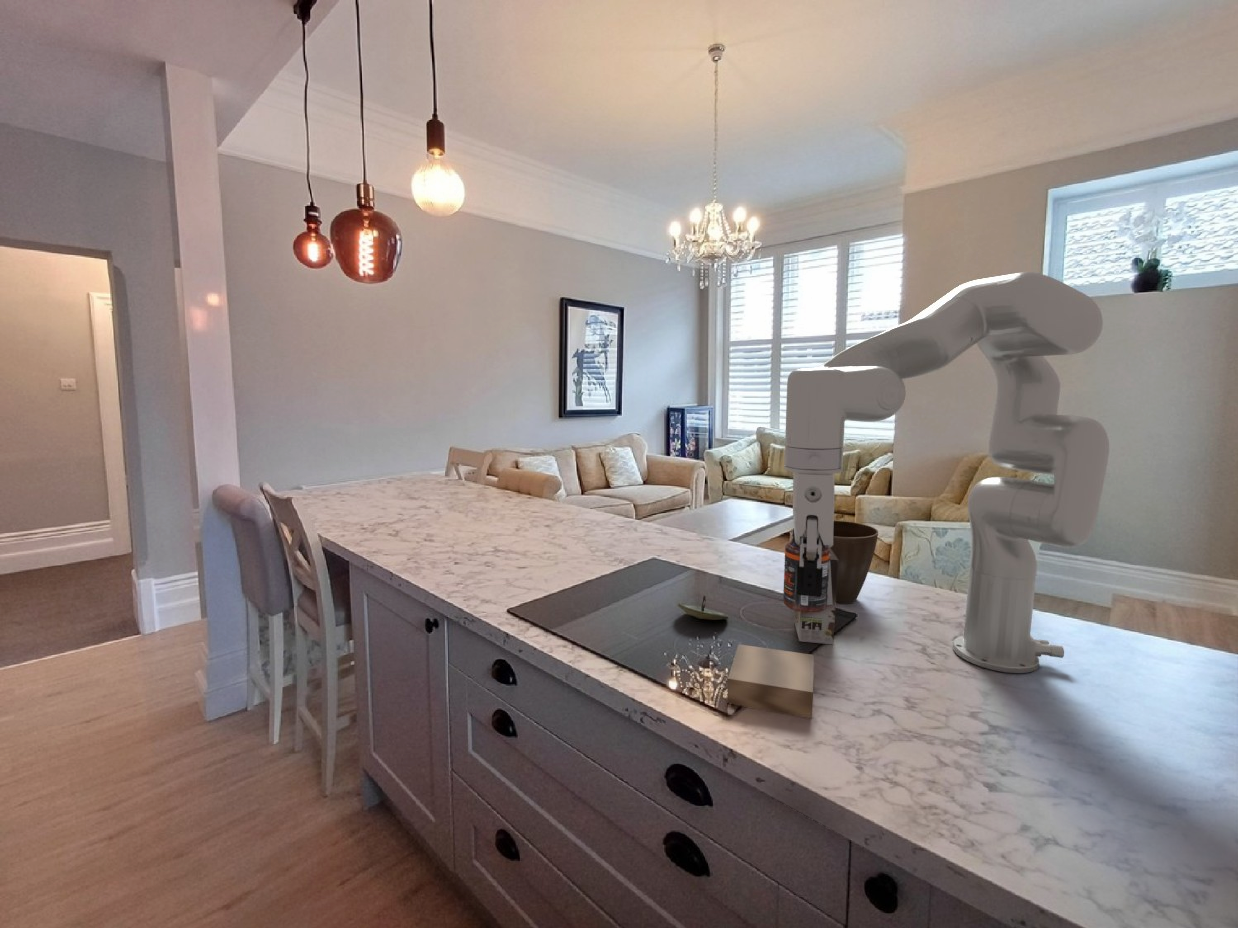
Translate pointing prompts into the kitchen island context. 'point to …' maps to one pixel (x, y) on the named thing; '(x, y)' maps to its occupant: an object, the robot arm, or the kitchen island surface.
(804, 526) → the robot arm
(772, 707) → the tan block
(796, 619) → the coffee box
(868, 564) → the plant pot
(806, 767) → the kitchen island surface
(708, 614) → the lid
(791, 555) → the supplement bottle
